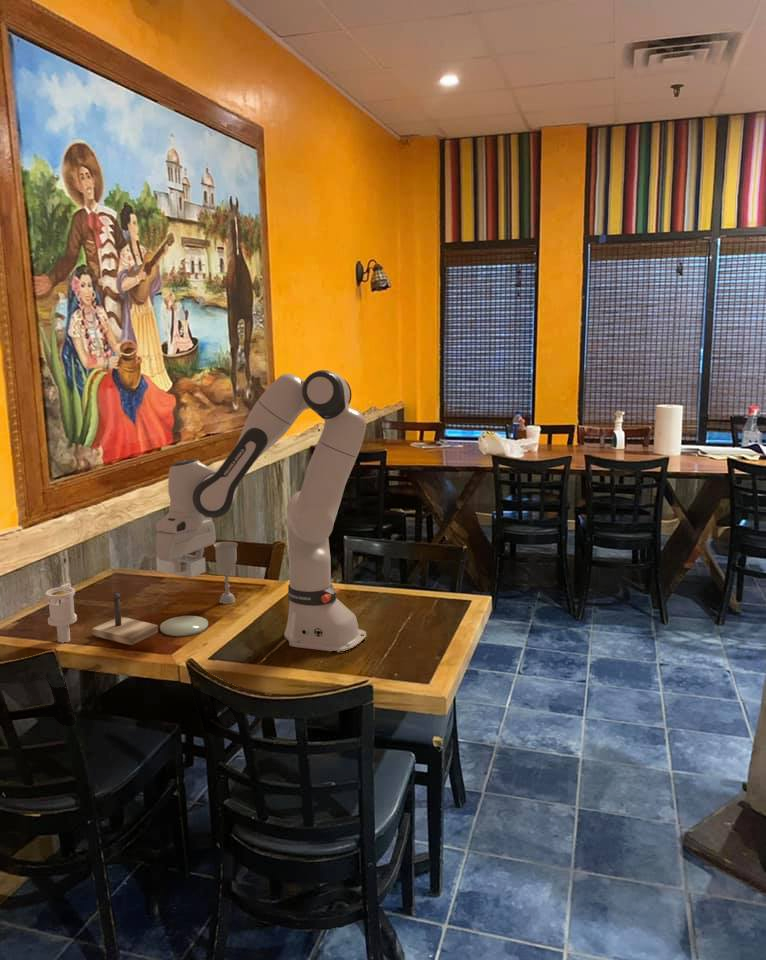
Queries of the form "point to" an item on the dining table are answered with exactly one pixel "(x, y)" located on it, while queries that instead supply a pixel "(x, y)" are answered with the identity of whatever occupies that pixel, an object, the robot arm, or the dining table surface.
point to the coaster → (183, 626)
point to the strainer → (62, 611)
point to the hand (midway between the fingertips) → (188, 568)
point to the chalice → (226, 566)
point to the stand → (124, 627)
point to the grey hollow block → (190, 566)
